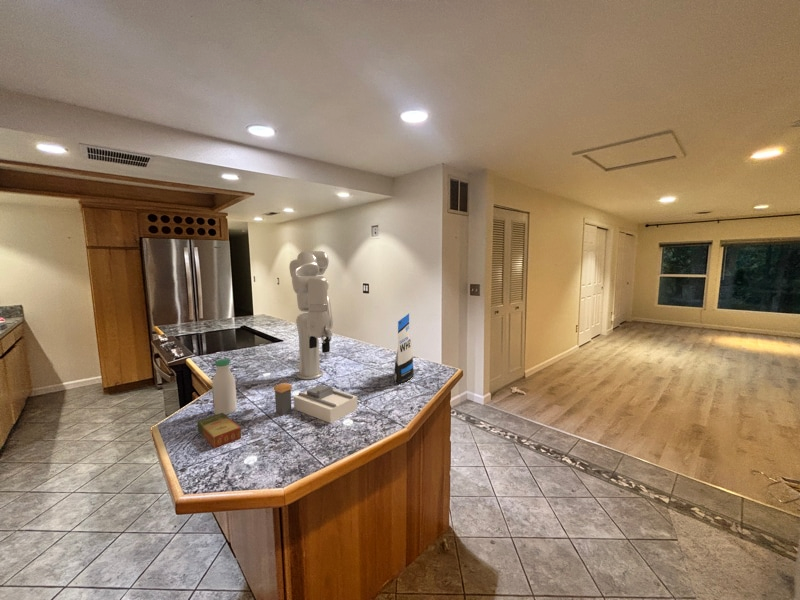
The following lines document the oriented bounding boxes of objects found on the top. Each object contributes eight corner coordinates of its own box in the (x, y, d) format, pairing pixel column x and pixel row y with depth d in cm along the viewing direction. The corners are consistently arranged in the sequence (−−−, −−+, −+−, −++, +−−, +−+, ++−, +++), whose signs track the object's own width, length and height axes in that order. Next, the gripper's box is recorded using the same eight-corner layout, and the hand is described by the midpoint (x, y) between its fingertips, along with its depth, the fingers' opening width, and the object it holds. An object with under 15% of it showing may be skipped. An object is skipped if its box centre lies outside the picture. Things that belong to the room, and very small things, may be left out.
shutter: (307, 395, 127) (306, 387, 127) (320, 389, 133) (320, 382, 132) (319, 399, 123) (319, 391, 123) (333, 393, 129) (332, 386, 129)
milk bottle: (241, 408, 127) (238, 358, 125) (225, 417, 120) (221, 364, 118) (226, 405, 130) (223, 356, 127) (209, 414, 122) (205, 362, 120)
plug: (274, 413, 123) (273, 386, 122) (285, 408, 127) (284, 382, 126) (282, 416, 121) (281, 388, 120) (292, 411, 125) (291, 385, 123)
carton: (214, 450, 100) (212, 436, 99) (197, 431, 111) (196, 419, 110) (242, 439, 106) (241, 426, 105) (223, 422, 117) (222, 411, 116)
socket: (294, 409, 127) (293, 394, 126) (321, 396, 138) (321, 383, 138) (330, 423, 116) (330, 407, 115) (357, 408, 127) (357, 394, 126)
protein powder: (388, 384, 152) (388, 321, 148) (400, 368, 175) (400, 313, 172) (408, 386, 150) (408, 321, 146) (417, 369, 173) (418, 313, 170)
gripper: (299, 307, 135) (300, 347, 137) (321, 311, 123) (322, 356, 124) (315, 305, 140) (316, 344, 142) (338, 309, 128) (339, 352, 130)
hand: (319, 349), depth 133 cm, fingers open, 9 cm apart
